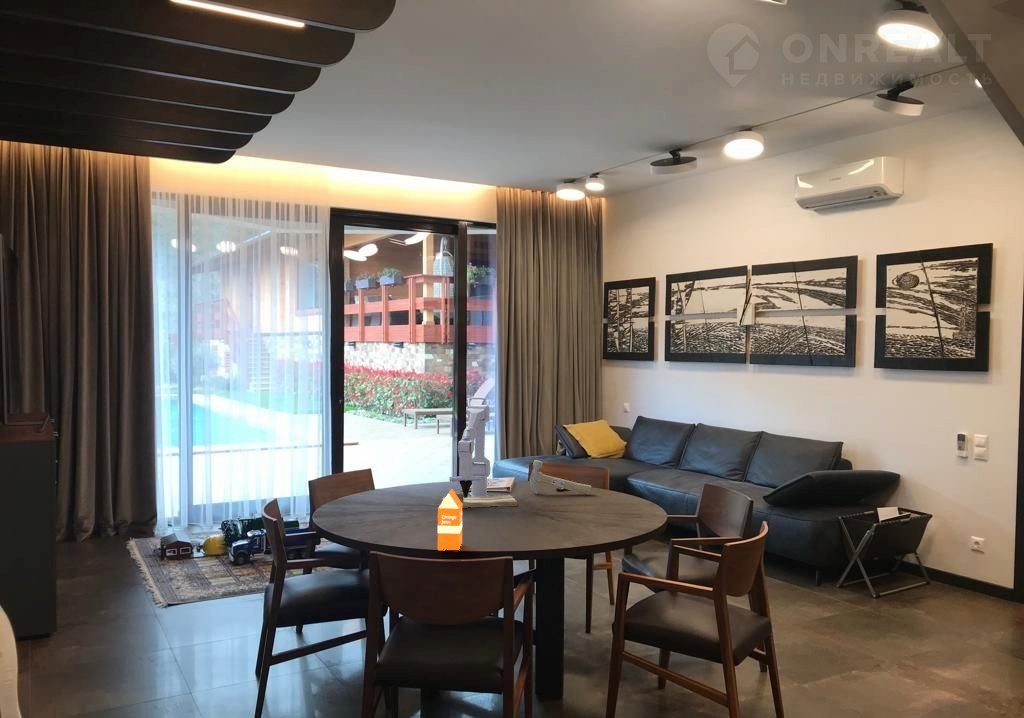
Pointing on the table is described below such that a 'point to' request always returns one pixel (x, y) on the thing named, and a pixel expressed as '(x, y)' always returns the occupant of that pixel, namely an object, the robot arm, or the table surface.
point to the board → (488, 501)
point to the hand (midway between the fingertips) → (465, 497)
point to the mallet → (460, 496)
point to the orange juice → (450, 523)
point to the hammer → (555, 481)
